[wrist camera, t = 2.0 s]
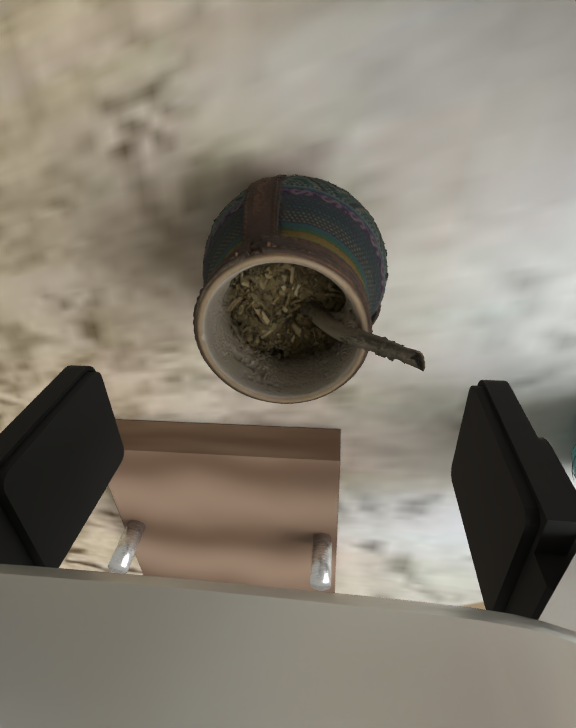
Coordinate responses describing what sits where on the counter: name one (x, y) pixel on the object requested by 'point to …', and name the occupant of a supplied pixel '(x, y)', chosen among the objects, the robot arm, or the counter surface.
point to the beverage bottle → (574, 461)
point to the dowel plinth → (229, 503)
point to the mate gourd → (293, 291)
